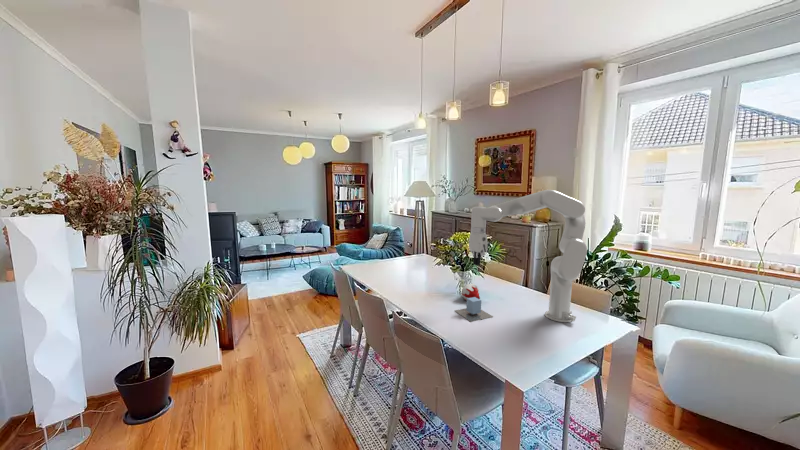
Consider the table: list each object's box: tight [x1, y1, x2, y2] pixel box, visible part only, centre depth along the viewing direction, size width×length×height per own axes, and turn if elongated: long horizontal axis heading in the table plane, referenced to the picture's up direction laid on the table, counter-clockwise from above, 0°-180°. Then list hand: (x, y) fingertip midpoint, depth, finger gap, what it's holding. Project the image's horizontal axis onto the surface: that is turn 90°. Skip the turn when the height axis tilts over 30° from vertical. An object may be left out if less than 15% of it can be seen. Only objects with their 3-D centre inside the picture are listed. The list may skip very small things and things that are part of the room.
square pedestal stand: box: [454, 307, 494, 323], centre depth 158 cm, size 14×14×7 cm
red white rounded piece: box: [460, 283, 481, 302], centre depth 178 cm, size 9×11×15 cm
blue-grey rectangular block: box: [466, 297, 482, 314], centre depth 158 cm, size 5×5×7 cm
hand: (476, 264), depth 161 cm, fingers closed
